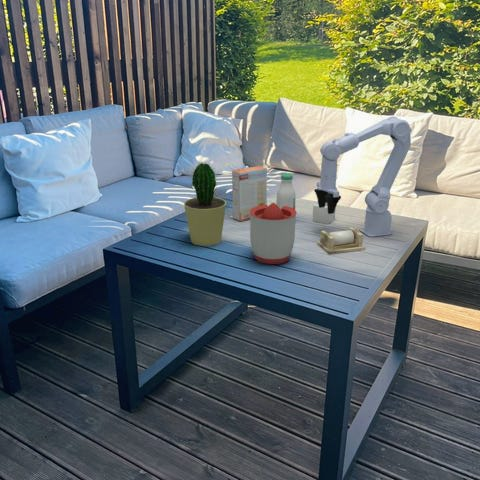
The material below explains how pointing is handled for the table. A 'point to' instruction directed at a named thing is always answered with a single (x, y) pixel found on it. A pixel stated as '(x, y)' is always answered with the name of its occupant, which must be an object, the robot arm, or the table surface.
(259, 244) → the citrus juicer
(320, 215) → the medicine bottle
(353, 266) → the table surface
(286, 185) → the milk bottle
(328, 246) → the beige wooden frame
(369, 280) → the table surface
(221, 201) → the potted cactus
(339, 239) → the roll
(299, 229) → the table surface
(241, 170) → the cracker box
